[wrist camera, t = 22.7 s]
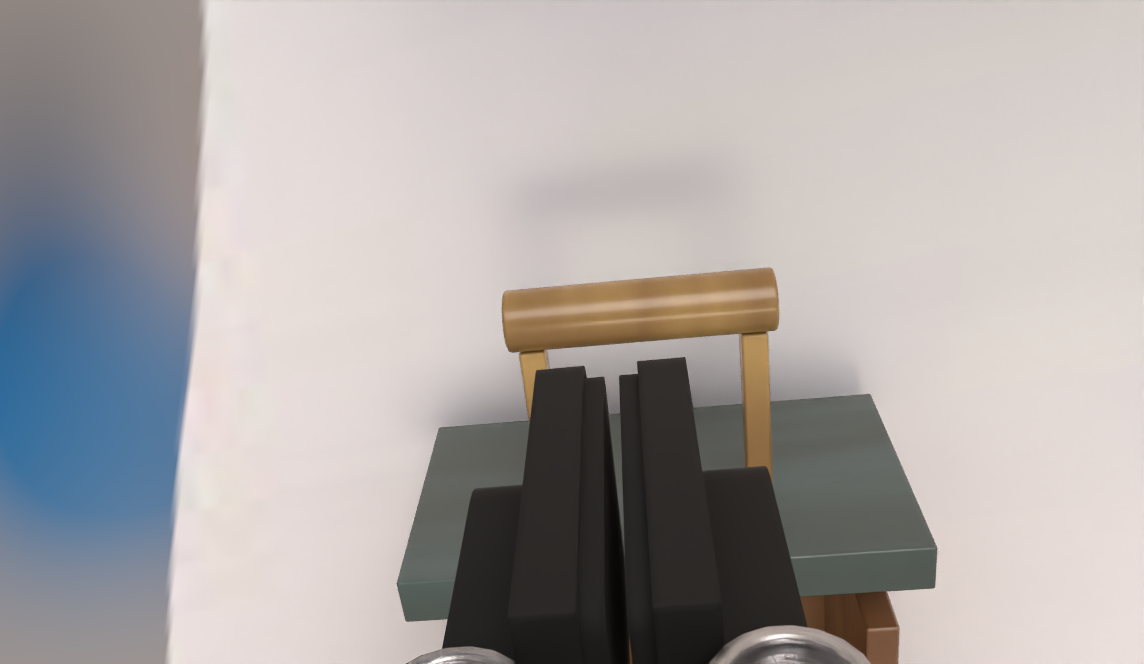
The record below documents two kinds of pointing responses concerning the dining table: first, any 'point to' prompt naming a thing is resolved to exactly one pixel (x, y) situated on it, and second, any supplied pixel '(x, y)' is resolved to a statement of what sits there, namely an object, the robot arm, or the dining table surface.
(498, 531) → the robot arm
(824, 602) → the drawer
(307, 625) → the dining table surface
